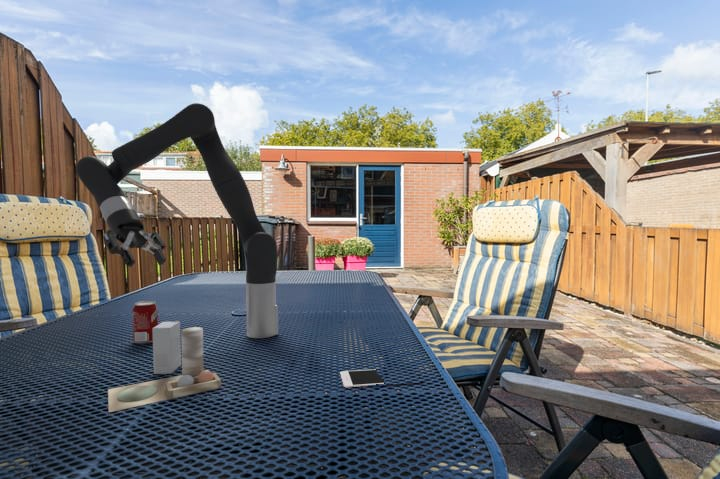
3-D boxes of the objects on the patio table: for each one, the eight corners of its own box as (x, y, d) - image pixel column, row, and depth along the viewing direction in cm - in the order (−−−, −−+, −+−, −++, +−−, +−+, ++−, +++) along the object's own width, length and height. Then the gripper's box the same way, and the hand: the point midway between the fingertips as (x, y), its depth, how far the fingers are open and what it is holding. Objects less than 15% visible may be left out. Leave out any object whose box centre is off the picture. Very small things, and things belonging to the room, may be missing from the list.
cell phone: (423, 385, 88) (423, 380, 88) (344, 390, 85) (344, 386, 85) (411, 370, 97) (411, 366, 97) (339, 375, 94) (339, 371, 94)
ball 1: (192, 386, 83) (192, 371, 83) (195, 391, 81) (195, 376, 81) (176, 389, 82) (175, 374, 81) (178, 395, 79) (178, 379, 79)
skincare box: (163, 369, 96) (162, 321, 96) (181, 369, 96) (180, 321, 96) (152, 379, 90) (151, 327, 90) (171, 378, 90) (170, 327, 90)
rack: (208, 374, 93) (207, 324, 92) (221, 393, 83) (220, 336, 82) (108, 395, 82) (106, 337, 81) (108, 418, 72) (107, 353, 71)
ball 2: (212, 381, 86) (211, 367, 85) (215, 386, 83) (215, 372, 83) (196, 385, 84) (196, 370, 84) (199, 390, 81) (199, 375, 81)
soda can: (147, 345, 115) (146, 305, 114) (127, 344, 116) (126, 304, 116) (163, 339, 122) (162, 301, 121) (144, 338, 123) (143, 300, 122)
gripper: (100, 205, 97) (128, 255, 92) (152, 209, 110) (179, 253, 105) (86, 225, 99) (113, 275, 94) (139, 227, 112) (164, 271, 107)
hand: (148, 263), depth 100 cm, fingers open, 8 cm apart
